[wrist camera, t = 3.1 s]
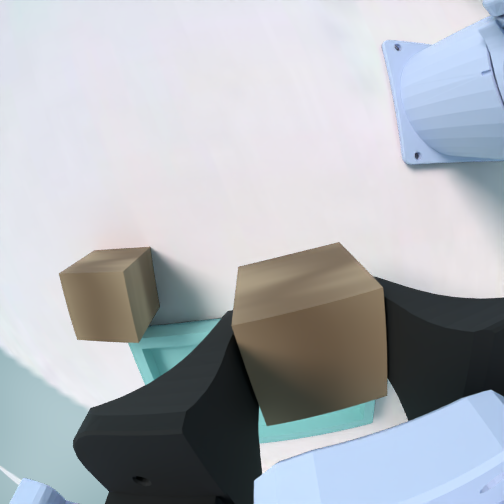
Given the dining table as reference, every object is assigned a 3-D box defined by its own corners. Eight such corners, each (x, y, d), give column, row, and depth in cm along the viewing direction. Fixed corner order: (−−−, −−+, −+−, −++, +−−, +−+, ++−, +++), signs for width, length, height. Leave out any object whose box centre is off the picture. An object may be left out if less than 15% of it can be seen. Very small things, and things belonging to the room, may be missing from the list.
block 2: (339, 242, 12) (382, 287, 8) (351, 328, 13) (387, 395, 9) (238, 267, 12) (231, 325, 8) (262, 350, 13) (266, 426, 9)
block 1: (150, 246, 18) (123, 271, 14) (159, 306, 20) (138, 343, 15) (94, 250, 18) (59, 273, 14) (106, 306, 20) (77, 339, 15)
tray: (372, 293, 19) (381, 303, 18) (367, 410, 22) (372, 422, 21) (134, 327, 20) (127, 339, 18) (178, 433, 23) (175, 447, 21)
